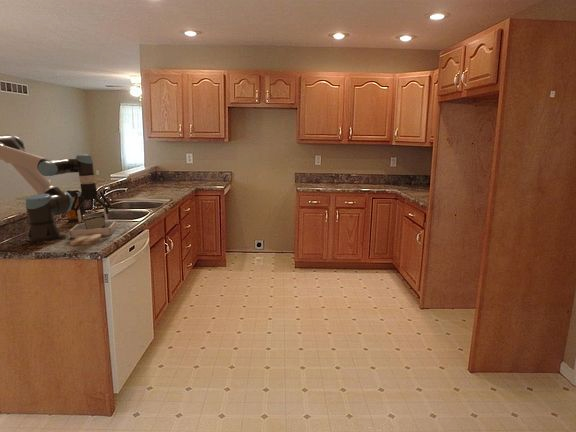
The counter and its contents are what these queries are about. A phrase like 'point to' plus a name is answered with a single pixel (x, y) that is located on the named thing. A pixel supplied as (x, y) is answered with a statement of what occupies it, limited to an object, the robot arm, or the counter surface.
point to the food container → (94, 221)
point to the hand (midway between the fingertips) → (93, 220)
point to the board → (86, 239)
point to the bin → (81, 229)
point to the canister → (71, 214)
